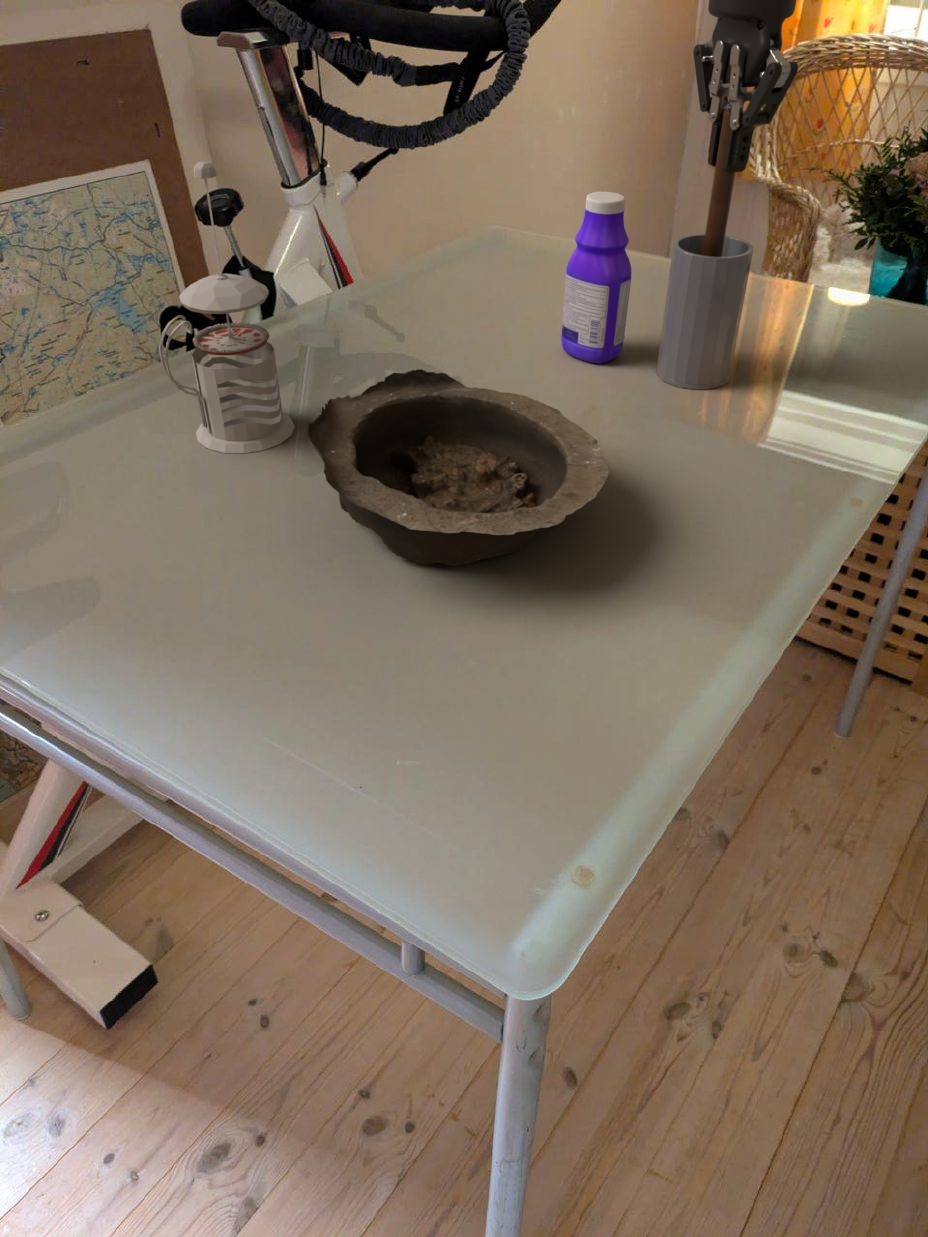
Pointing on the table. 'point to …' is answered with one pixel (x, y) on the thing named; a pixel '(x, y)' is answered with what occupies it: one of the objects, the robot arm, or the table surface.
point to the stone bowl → (454, 466)
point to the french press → (231, 361)
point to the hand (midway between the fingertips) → (725, 167)
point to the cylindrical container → (702, 312)
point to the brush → (719, 197)
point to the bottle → (597, 282)
